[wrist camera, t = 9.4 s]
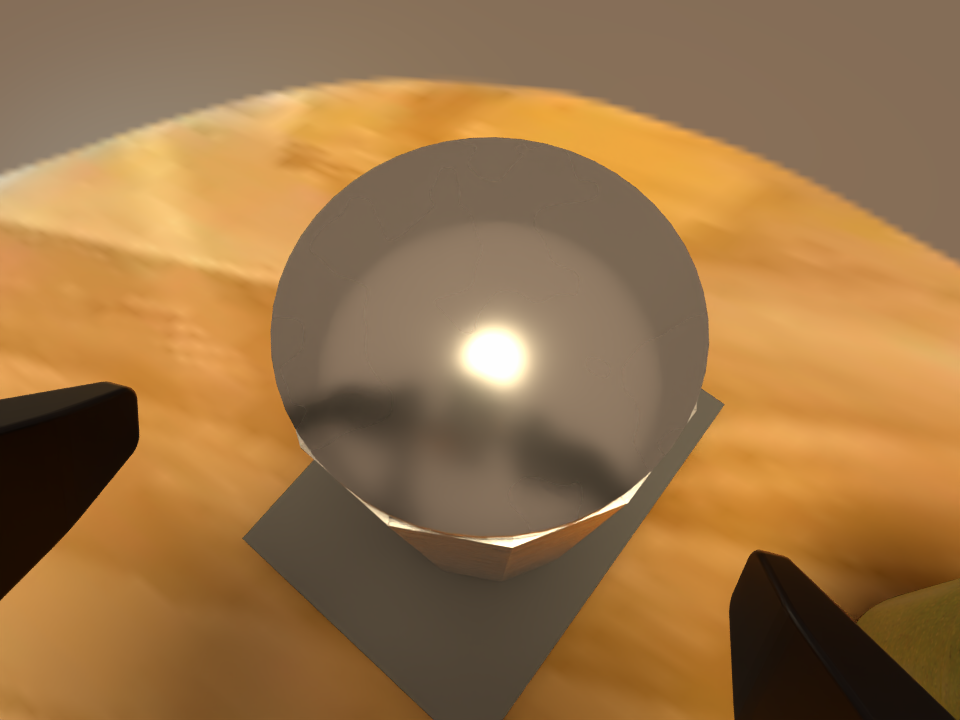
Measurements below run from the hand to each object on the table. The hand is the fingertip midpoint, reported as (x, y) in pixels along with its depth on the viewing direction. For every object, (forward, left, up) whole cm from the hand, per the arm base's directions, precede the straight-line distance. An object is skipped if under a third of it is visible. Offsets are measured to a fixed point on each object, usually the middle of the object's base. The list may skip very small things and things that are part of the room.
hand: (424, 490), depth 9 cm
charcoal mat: (+3, +1, -13) cm, 14 cm away
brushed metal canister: (+3, +1, -13) cm, 13 cm away
